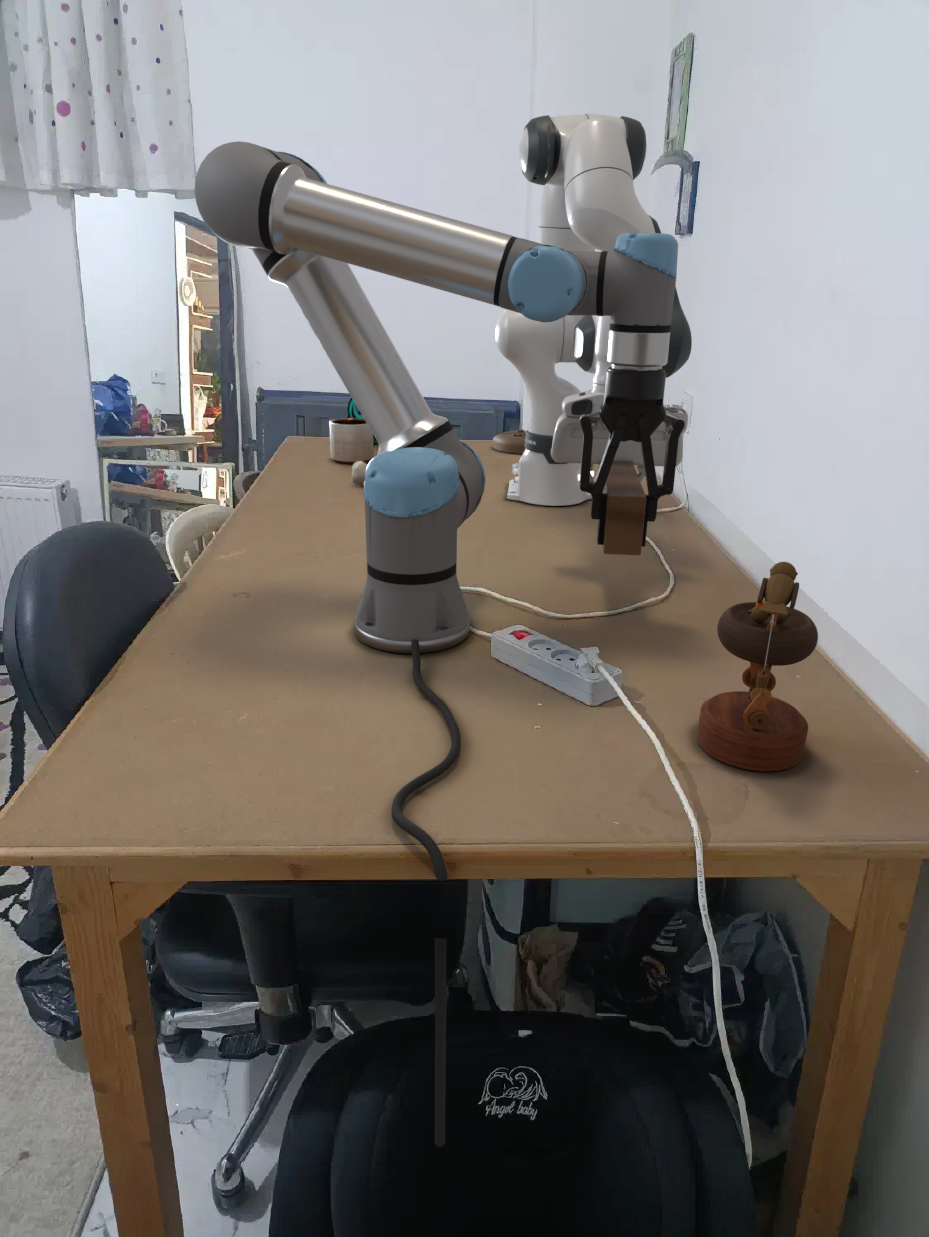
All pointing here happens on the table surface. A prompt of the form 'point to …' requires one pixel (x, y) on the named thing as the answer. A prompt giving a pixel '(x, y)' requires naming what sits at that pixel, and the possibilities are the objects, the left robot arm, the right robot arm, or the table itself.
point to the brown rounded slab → (510, 441)
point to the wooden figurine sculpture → (760, 680)
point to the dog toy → (358, 472)
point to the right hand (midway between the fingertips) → (612, 491)
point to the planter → (350, 440)
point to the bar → (623, 510)
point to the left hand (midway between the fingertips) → (620, 542)
